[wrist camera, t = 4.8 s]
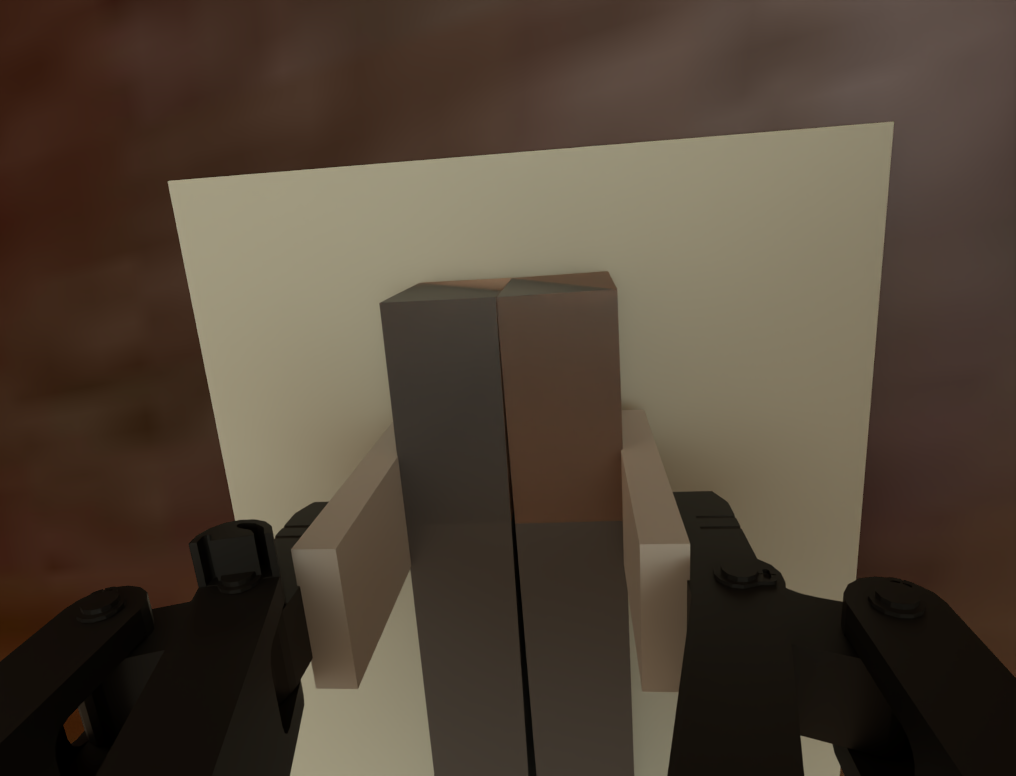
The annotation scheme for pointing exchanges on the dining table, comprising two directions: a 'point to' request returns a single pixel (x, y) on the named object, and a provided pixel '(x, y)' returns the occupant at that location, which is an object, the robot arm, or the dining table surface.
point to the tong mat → (642, 345)
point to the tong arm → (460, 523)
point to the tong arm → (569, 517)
